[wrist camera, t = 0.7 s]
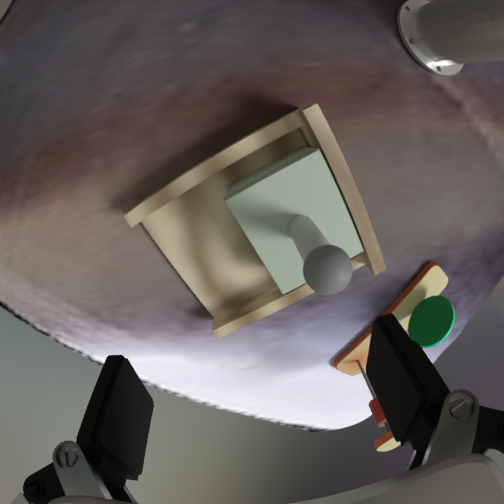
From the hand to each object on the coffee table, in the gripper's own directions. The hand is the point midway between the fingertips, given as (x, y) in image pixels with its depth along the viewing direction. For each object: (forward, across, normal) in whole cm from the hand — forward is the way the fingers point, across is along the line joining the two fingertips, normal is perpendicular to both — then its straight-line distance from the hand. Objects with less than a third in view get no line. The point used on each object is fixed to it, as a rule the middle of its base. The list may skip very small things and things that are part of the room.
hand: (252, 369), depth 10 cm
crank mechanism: (+26, -22, +25) cm, 43 cm away
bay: (+26, -2, +4) cm, 26 cm away
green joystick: (+25, -6, +2) cm, 26 cm away
